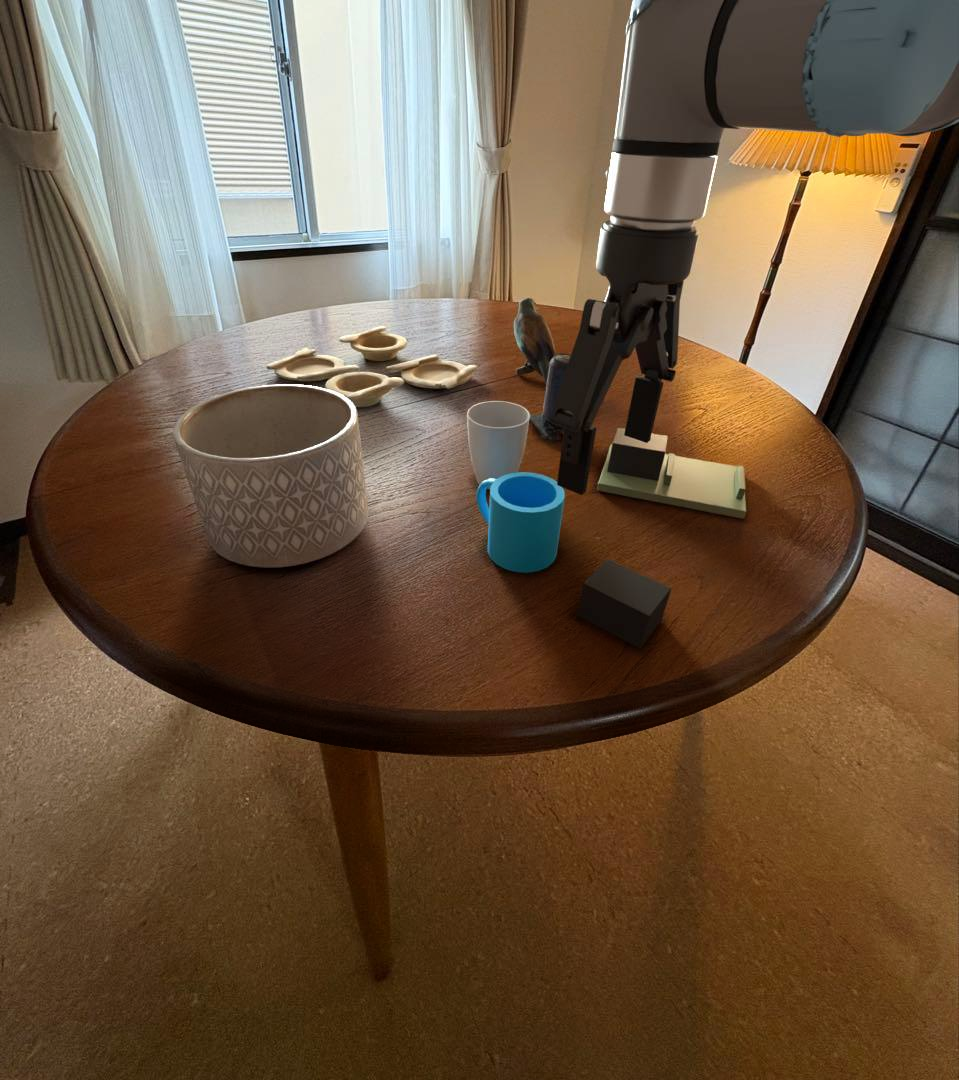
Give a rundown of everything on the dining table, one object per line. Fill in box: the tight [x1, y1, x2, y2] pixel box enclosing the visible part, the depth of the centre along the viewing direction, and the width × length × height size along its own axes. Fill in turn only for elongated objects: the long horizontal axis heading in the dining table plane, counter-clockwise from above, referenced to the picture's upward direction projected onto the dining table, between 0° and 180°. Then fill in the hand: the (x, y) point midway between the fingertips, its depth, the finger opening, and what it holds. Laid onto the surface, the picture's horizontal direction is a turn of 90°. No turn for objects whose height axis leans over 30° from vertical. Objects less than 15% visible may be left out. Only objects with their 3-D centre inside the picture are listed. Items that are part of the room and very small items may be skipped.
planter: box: [172, 384, 370, 568], centre depth 64 cm, size 19×19×14 cm
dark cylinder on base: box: [529, 352, 572, 442], centre depth 88 cm, size 9×8×12 cm
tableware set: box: [265, 325, 478, 408], centre depth 106 cm, size 35×29×4 cm
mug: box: [475, 471, 566, 574], centre depth 64 cm, size 12×8×8 cm
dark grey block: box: [577, 558, 672, 650], centre depth 56 cm, size 7×5×4 cm
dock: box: [596, 427, 747, 520], centre depth 77 cm, size 19×12×6 cm, turn 71°
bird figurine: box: [513, 297, 557, 385], centre depth 106 cm, size 13×10×20 cm
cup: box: [466, 400, 531, 490], centre depth 75 cm, size 8×8×10 cm
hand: (606, 461), depth 56 cm, fingers open, 13 cm apart
